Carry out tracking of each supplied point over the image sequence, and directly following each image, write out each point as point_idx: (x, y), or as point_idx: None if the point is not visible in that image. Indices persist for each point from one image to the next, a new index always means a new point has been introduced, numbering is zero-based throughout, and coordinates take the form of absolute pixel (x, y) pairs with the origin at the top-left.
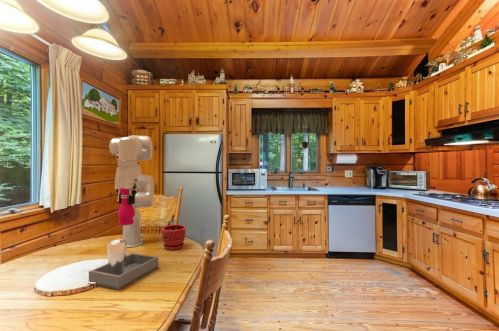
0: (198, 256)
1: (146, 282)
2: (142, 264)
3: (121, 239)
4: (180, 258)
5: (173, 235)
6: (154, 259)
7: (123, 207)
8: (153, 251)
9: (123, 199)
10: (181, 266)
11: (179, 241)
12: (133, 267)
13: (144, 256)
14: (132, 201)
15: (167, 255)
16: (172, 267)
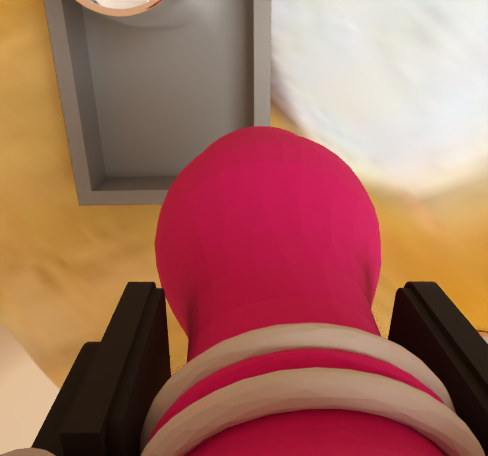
0: (32, 358)
1: (9, 24)
2: (65, 80)
3: (136, 6)
4: (90, 313)
5: None
6: (74, 171)
7: (247, 214)
8: None
9: (284, 317)
10: (11, 239)
11: None
12: (192, 125)
13: (164, 189)
14: (81, 358)
15: (177, 322)
16: (40, 215)
